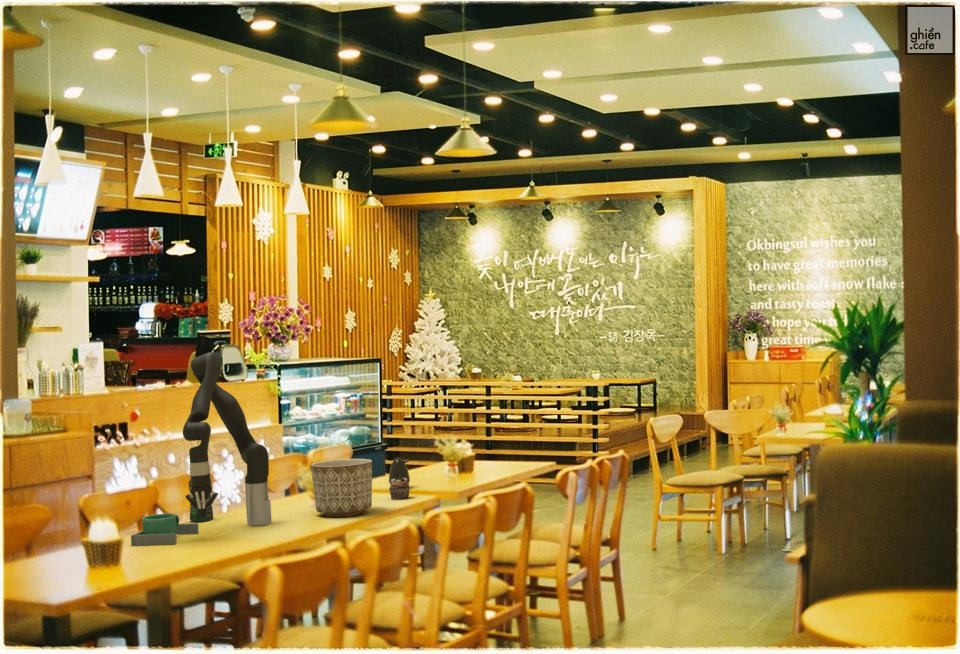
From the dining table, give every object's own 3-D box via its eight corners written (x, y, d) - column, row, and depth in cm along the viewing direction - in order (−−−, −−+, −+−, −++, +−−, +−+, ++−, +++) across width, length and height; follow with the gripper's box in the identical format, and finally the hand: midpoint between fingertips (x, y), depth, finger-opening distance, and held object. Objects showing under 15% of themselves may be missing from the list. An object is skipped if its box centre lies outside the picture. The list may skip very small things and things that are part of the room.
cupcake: (414, 497, 528) (413, 475, 528) (402, 500, 520) (400, 478, 520) (397, 496, 533) (396, 475, 533) (385, 500, 525) (384, 478, 525)
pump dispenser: (409, 489, 554) (408, 458, 554) (388, 491, 554) (386, 459, 554) (411, 486, 564) (409, 456, 564) (390, 488, 565) (388, 457, 565)
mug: (158, 544, 439) (157, 519, 439) (136, 542, 446) (135, 518, 446) (191, 536, 453) (190, 512, 453) (169, 535, 460) (168, 511, 460)
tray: (198, 533, 460) (198, 523, 460) (175, 544, 437) (174, 534, 437) (156, 534, 463) (156, 524, 463) (131, 545, 439) (130, 535, 439)
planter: (357, 506, 508) (354, 457, 508) (385, 513, 486) (382, 461, 486) (303, 514, 494) (300, 463, 494) (329, 521, 472) (327, 468, 472)
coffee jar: (199, 523, 486) (197, 479, 486) (187, 522, 491) (184, 478, 491) (217, 519, 494) (214, 476, 494) (204, 518, 499) (201, 475, 499)
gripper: (219, 471, 450) (223, 515, 450) (187, 473, 452) (190, 517, 452) (213, 473, 443) (216, 518, 443) (180, 475, 444) (183, 520, 444)
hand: (203, 517), depth 447 cm, fingers closed
